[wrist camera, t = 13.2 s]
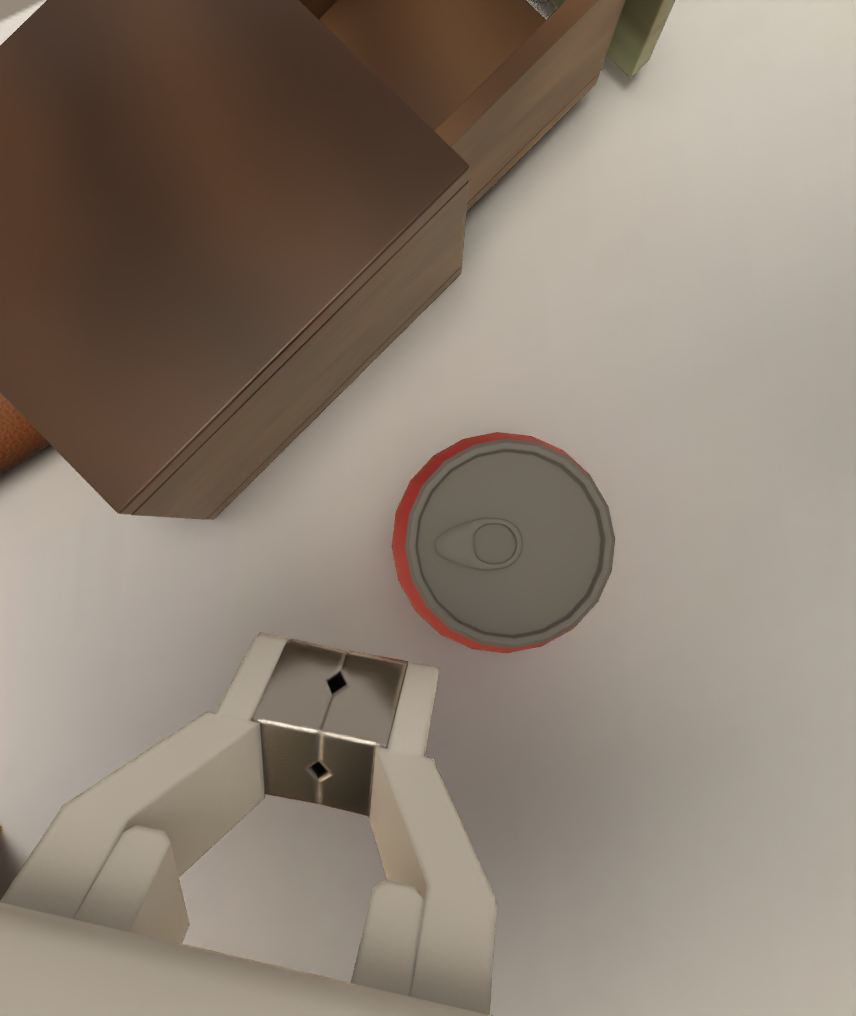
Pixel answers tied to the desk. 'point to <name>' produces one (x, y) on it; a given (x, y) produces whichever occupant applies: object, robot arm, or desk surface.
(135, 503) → the cabinet
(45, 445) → the sunglasses case
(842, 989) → the desk surface
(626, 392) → the desk surface
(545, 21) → the drawer
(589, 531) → the beer can
